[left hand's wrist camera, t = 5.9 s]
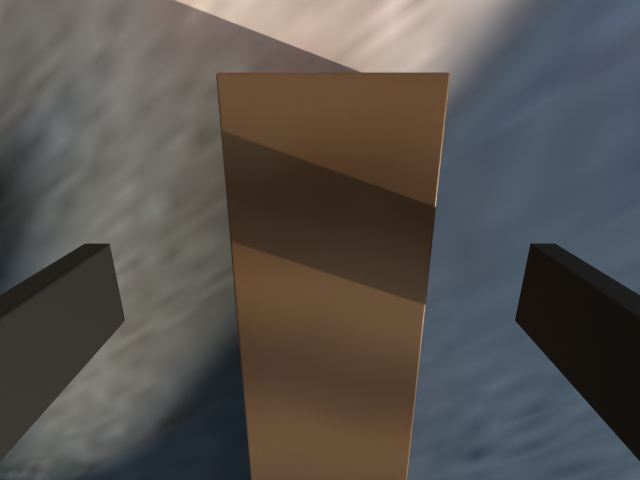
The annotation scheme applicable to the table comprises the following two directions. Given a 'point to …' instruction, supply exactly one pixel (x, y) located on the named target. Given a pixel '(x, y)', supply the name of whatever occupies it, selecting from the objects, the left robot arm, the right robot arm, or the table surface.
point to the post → (331, 262)
